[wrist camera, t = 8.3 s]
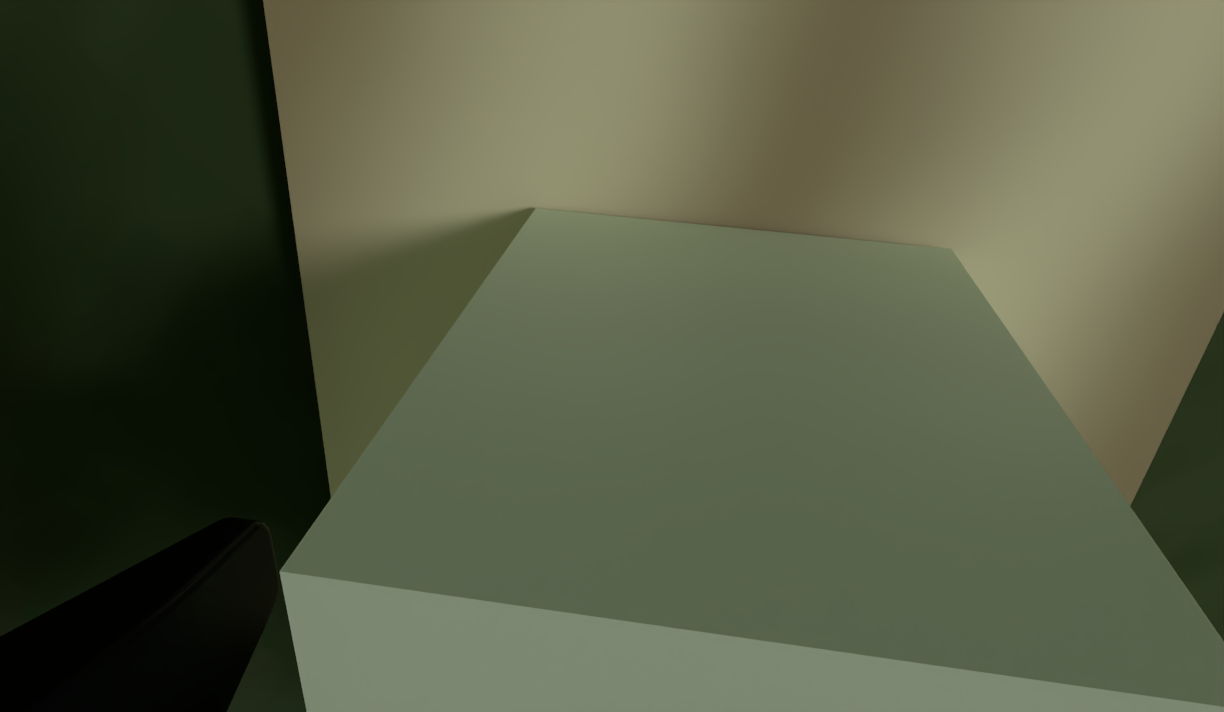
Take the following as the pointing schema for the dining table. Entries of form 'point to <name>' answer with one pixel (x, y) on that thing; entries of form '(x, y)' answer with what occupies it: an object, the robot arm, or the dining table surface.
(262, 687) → the dining table surface
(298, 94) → the peg on square board
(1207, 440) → the dining table surface
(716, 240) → the pale grey block
